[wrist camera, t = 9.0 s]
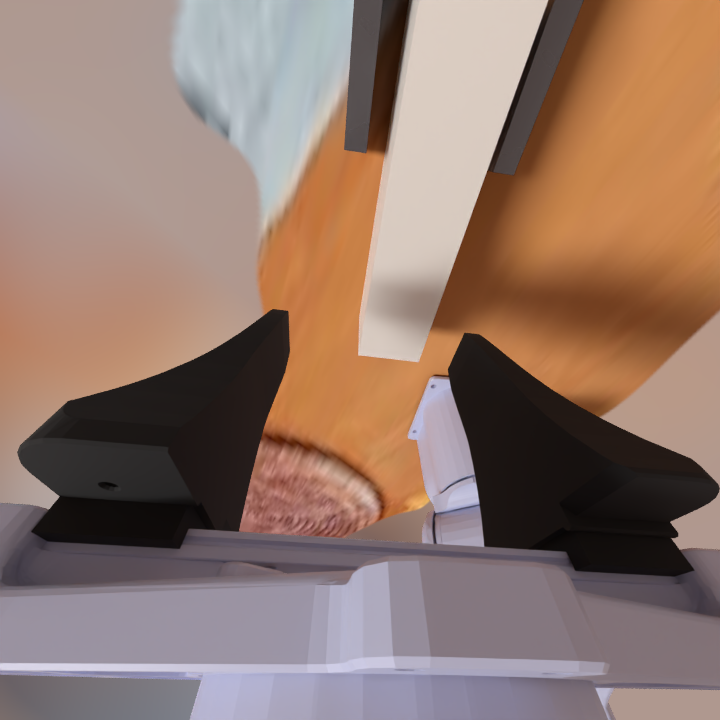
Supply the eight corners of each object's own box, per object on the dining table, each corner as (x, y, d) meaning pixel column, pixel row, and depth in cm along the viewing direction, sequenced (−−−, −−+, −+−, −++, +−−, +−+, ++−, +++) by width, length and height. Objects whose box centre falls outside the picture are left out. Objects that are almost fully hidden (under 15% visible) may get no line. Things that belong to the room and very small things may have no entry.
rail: (409, 321, 22) (418, 361, 18) (359, 315, 22) (358, 355, 18) (501, 5, 12) (567, -54, 8) (410, -15, 12) (433, -85, 8)
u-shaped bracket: (491, 168, 15) (513, 175, 13) (347, 146, 15) (344, 149, 13) (574, -69, 11) (633, -124, 8) (366, -114, 10) (366, -186, 8)
